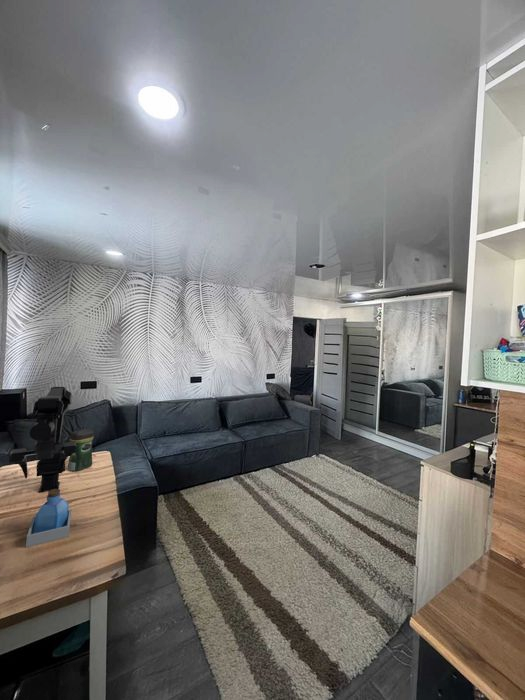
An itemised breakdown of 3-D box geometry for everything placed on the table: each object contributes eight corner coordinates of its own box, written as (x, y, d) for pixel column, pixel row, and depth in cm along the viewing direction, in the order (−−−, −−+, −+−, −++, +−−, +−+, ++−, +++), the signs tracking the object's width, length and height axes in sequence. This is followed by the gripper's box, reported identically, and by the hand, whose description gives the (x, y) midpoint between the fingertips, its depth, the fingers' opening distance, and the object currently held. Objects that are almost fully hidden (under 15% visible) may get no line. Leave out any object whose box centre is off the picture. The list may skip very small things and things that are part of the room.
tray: (32, 527, 87) (33, 517, 88) (70, 519, 93) (71, 509, 93) (25, 547, 79) (26, 536, 79) (68, 537, 84) (69, 526, 84)
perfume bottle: (33, 536, 83) (36, 496, 83) (46, 523, 89) (49, 486, 89) (55, 535, 84) (58, 496, 84) (67, 522, 90) (70, 486, 90)
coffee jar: (84, 462, 138) (87, 426, 138) (94, 466, 134) (97, 429, 135) (64, 469, 129) (67, 430, 129) (74, 473, 125) (77, 433, 126)
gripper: (9, 442, 86) (5, 491, 86) (79, 434, 98) (75, 477, 98) (12, 433, 95) (9, 477, 95) (76, 427, 107) (73, 466, 106)
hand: (43, 475), depth 98 cm, fingers open, 9 cm apart
